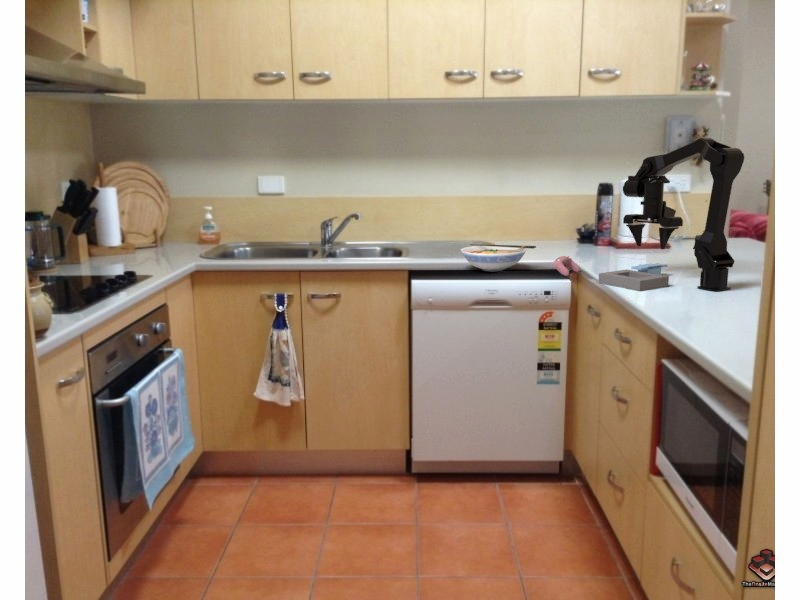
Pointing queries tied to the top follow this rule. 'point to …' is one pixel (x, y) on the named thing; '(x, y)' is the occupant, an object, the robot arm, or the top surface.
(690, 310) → the top surface
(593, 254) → the top surface
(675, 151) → the robot arm
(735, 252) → the top surface
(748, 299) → the top surface
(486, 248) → the ramen bowl
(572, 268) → the video game controller
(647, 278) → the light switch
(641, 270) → the light blue bar
